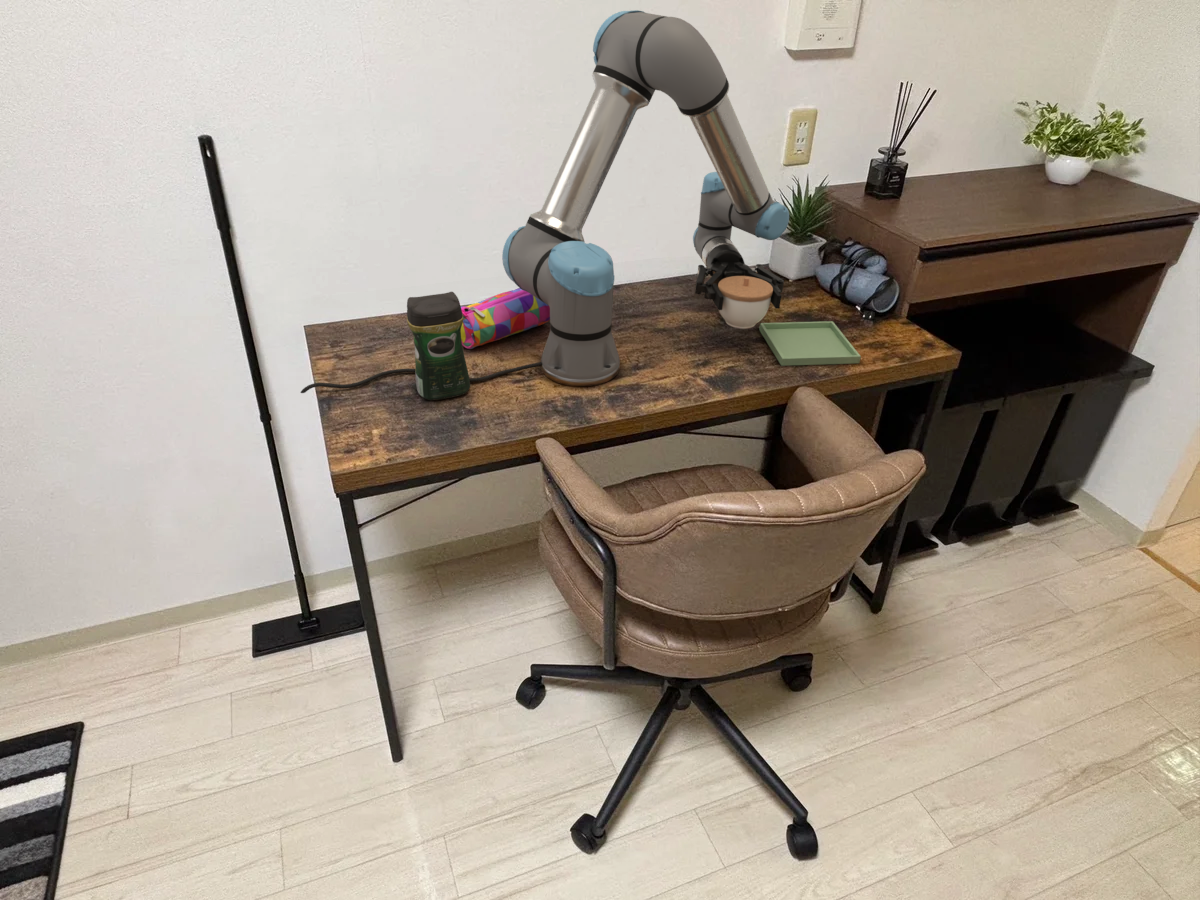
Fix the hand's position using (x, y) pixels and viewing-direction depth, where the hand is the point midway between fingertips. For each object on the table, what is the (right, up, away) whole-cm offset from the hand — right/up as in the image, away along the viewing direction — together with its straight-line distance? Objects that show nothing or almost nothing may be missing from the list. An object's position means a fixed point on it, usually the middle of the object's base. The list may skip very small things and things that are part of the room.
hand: (749, 302), depth 149 cm
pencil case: (-49, -5, +12) cm, 51 cm away
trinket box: (-1, -3, +7) cm, 7 cm away
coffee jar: (-58, -18, -7) cm, 61 cm away
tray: (+14, -7, +12) cm, 19 cm away
